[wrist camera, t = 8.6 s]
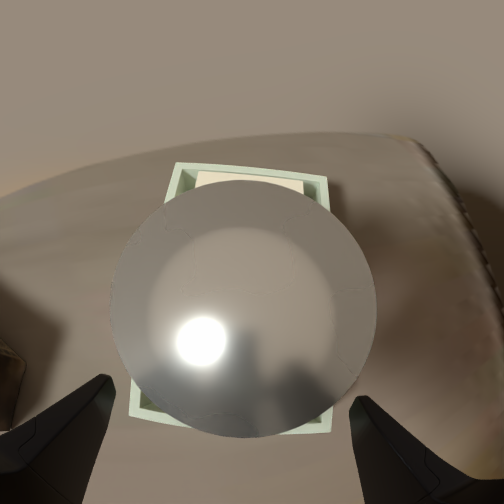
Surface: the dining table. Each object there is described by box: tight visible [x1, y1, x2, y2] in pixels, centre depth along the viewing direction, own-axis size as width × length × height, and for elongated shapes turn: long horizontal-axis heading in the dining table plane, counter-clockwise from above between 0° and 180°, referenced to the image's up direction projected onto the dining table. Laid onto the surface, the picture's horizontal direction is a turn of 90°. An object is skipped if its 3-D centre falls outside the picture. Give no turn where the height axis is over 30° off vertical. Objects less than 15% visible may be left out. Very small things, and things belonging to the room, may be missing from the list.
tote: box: [129, 162, 333, 434], centre depth 18 cm, size 17×11×4 cm, turn 176°
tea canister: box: [110, 180, 377, 438], centre depth 11 cm, size 6×6×13 cm
